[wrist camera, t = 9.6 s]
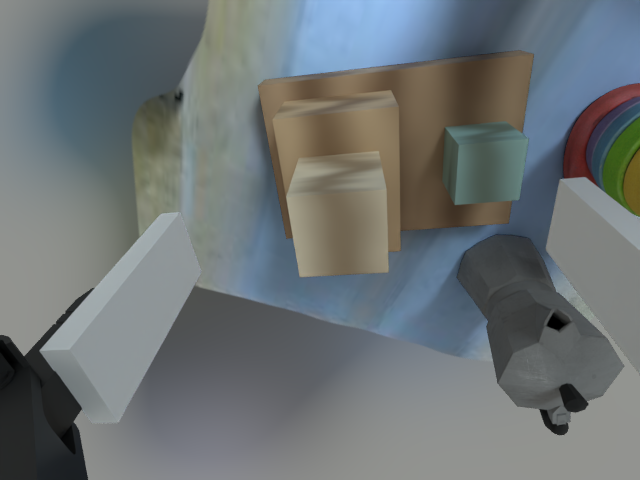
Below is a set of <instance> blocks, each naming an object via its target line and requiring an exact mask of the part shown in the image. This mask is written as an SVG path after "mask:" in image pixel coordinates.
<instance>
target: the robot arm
mask: <svg viewBox="0 0 640 480" xmlns="http://www.w3.org/2000/svg"><path fill="white" fill-rule="evenodd" d="M546 251H547V252H548V254H549V255H550V256H551V258H552V259H553V260H554V262H555V263H556V264H557V266H558V267H559V268H560V270H561V271H562V272H563V274H564V275H565V276H566V278H567V279H568V280H569V282H570V283H571V284H572V286H573V287H574V288H575V290H576V291H577V292H578V294H579V295H580V296H581V298H582V299H583V300H584V302H585V303H586V304H587V306H588V307H589V308H590V310H591V311H592V312H593V314H594V315H595V316H596V318H597V319H598V320H599V322H600V323H601V324H602V325H603V327H604V328H605V329H606V331H607V332H608V333H609V335H610V336H611V337H612V339H613V340H614V341H615V343H616V344H617V345H618V347H619V348H620V349H621V351H622V352H623V353H624V355H625V356H626V357H627V359H628V360H629V361H630V363H631V364H632V365H633V367H634V368H635V369H636V371H637V372H638V373H639V375H640V220H639V219H638V218H637V217H635V216H634V215H633V214H632V213H630V212H629V211H628V210H627V209H625V208H624V207H623V206H621V205H620V204H619V203H618V202H616V201H615V200H614V199H613V198H611V197H610V196H609V195H607V194H606V193H605V192H604V191H602V190H601V189H600V188H599V187H597V186H596V185H595V184H593V183H592V182H591V181H590V180H588V179H587V178H586V177H579V178H568V179H560V181H559V186H558V191H557V195H556V200H555V205H554V210H553V215H552V220H551V225H550V230H549V235H548V240H547V245H546ZM201 272H202V271H201V268H200V266H199V263H198V260H197V257H196V254H195V252H194V249H193V246H192V243H191V241H190V238H189V235H188V232H187V229H186V227H185V224H184V221H183V218H182V215H181V213H180V212H175V213H163V214H160V215H159V216H158V218H157V219H156V220H155V221H154V222H153V223H152V224H151V225H150V227H149V228H148V229H147V230H146V231H145V232H144V233H143V234H142V236H141V237H140V238H139V239H138V240H137V241H136V242H135V244H134V245H133V246H132V247H131V248H130V249H129V250H128V251H127V253H126V254H125V255H124V256H123V257H122V258H121V259H120V260H119V262H118V263H117V264H116V265H115V266H114V267H113V268H112V269H111V270H110V272H109V273H108V274H107V275H106V276H105V277H104V278H103V280H102V281H101V282H100V283H99V284H98V285H97V286H96V287H95V288H92V289H90V290H89V291H88V292H86V293H85V294H83V295H82V296H81V297H79V298H78V299H77V300H75V302H74V303H73V304H72V305H71V306H70V307H69V308H68V309H67V310H66V313H65V314H63V315H62V316H61V317H60V318H59V319H58V320H57V321H56V324H54V325H53V326H52V327H51V328H50V329H49V330H48V331H47V332H46V333H45V334H44V335H43V337H42V338H41V339H40V340H39V341H38V342H37V343H36V344H35V345H34V346H33V347H32V349H31V350H30V351H29V352H28V353H27V354H26V355H25V356H23V355H22V353H21V352H20V351H19V349H18V348H17V347H16V345H15V344H14V343H13V342H12V340H11V339H10V338H9V337H8V336H4V335H0V480H88V477H87V471H86V466H85V460H84V455H83V449H82V444H81V438H80V433H79V430H78V428H77V426H76V424H75V423H74V422H73V421H74V420H75V418H76V417H77V415H78V414H79V412H80V411H81V409H82V411H83V412H84V413H85V415H86V416H87V418H88V419H89V420H90V422H91V423H118V422H119V421H120V419H121V417H122V415H123V413H124V411H125V410H126V408H127V406H128V404H129V402H130V401H131V399H132V397H133V395H134V393H135V392H136V390H137V388H138V386H139V384H140V383H141V381H142V378H143V377H144V375H145V374H146V372H147V370H148V368H149V366H150V364H151V363H152V361H153V359H154V357H155V355H156V354H157V352H158V350H159V348H160V346H161V345H162V343H163V341H164V339H165V337H166V336H167V334H168V332H169V330H170V328H171V327H172V325H173V323H174V321H175V319H176V317H177V316H178V314H179V312H180V310H181V308H182V307H183V305H184V303H185V301H186V299H187V298H188V296H189V294H190V292H191V290H192V288H193V287H194V285H195V283H196V281H197V280H198V278H199V276H200V274H201Z"/></svg>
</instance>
